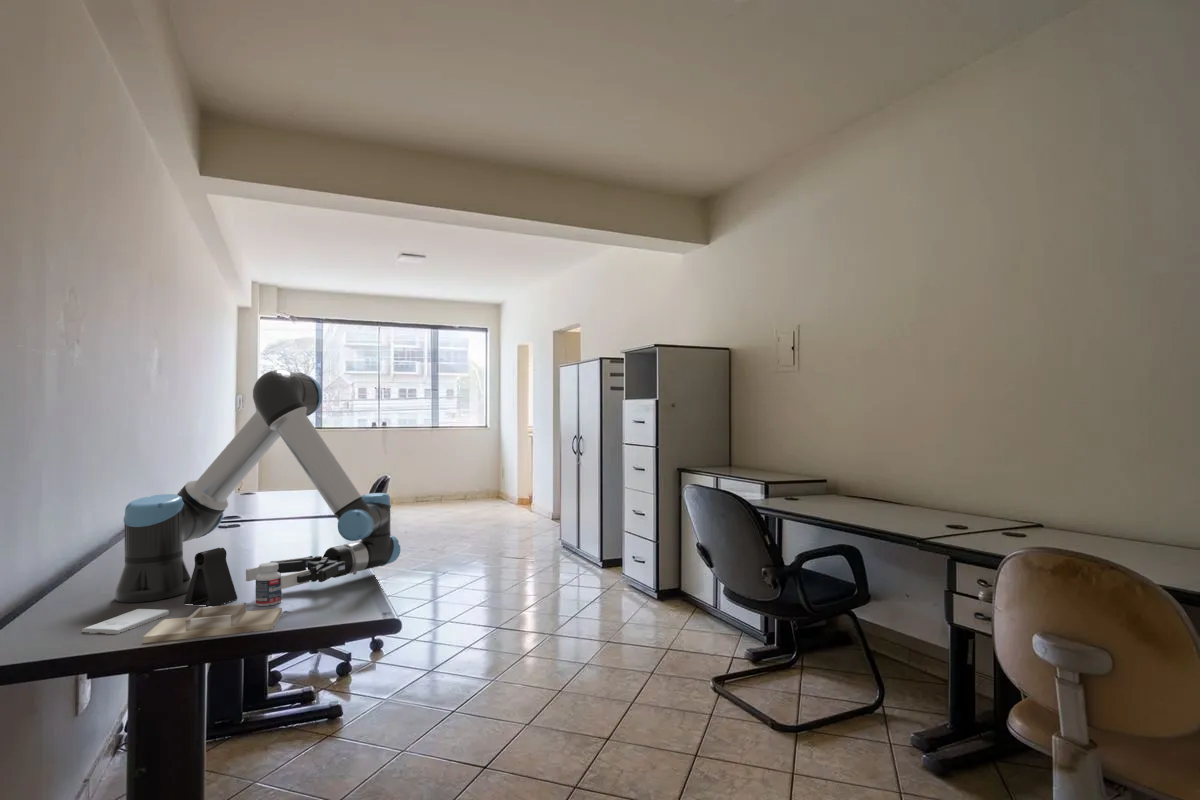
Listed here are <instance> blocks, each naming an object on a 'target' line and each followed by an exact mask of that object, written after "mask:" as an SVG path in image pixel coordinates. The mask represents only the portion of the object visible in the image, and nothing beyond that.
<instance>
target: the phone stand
mask: <svg viewBox="0 0 1200 800" xmlns="http://www.w3.org/2000/svg"><path fill="white" fill-rule="evenodd" d="M229 568H230V567H229V565H228V562H227V550H226V549H225V548H224V547H216V548H212V549H209V550H204V551H200V552H198V553H196V554H195V556H194V568H193V571H192V575H191V577H190V578H191V581H190V584H189V588H188V591H187V592H186V595H185V597H184V598H185V599H184V602H183V605H184V604H193V605H206V606H219V605H220V606H222V605H221V604H223V605H225V604H224V603H226V604H228V603H227V602H229V601H231V602H233V601H232V600H234V601H236V600H235V599H237V600H238V595H237V592H236V588H235V585H234V582H233V580H232V579H233V578H232V575H231V572H230V569H229ZM229 603H230V602H229Z"/></svg>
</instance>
